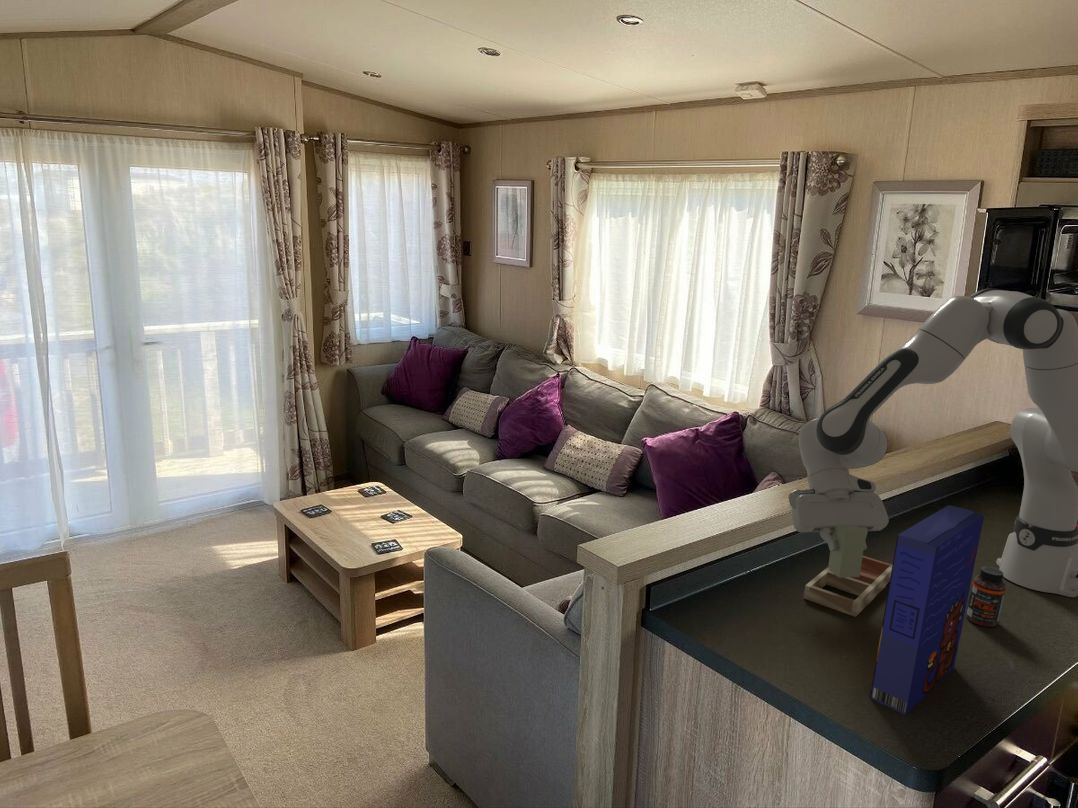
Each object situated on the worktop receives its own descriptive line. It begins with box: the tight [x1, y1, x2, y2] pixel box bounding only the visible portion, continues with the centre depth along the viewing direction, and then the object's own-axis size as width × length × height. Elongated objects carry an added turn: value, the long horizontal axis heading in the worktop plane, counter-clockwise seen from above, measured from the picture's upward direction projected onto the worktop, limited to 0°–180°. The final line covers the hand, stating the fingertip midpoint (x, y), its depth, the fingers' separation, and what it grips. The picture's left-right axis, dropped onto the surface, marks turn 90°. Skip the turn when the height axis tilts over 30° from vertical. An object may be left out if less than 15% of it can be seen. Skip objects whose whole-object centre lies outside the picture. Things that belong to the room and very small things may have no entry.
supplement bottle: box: [965, 566, 1007, 628], centre depth 163 cm, size 6×6×11 cm
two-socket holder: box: [803, 555, 893, 618], centre depth 175 cm, size 25×11×3 cm, turn 140°
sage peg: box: [827, 525, 867, 578], centre depth 168 cm, size 5×5×10 cm
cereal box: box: [869, 504, 985, 716], centre depth 137 cm, size 22×6×30 cm, turn 134°
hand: (848, 549), depth 167 cm, fingers closed on sage peg, 5 cm apart
